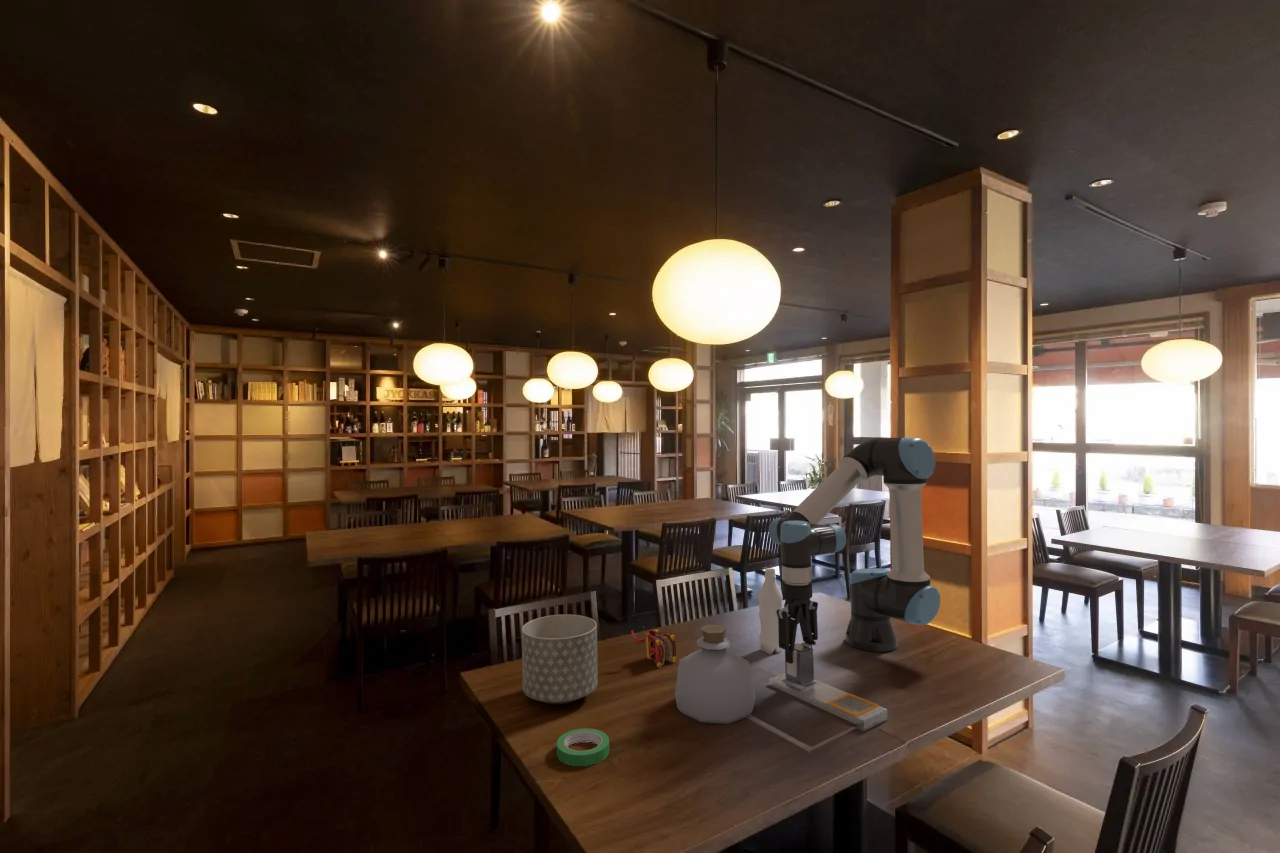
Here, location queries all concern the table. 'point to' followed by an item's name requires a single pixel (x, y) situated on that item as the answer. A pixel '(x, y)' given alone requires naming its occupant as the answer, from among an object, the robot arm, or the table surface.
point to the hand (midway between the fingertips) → (799, 671)
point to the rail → (834, 701)
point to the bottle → (714, 681)
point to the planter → (559, 658)
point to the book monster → (659, 646)
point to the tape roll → (585, 756)
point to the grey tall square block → (802, 665)
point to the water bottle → (769, 613)
